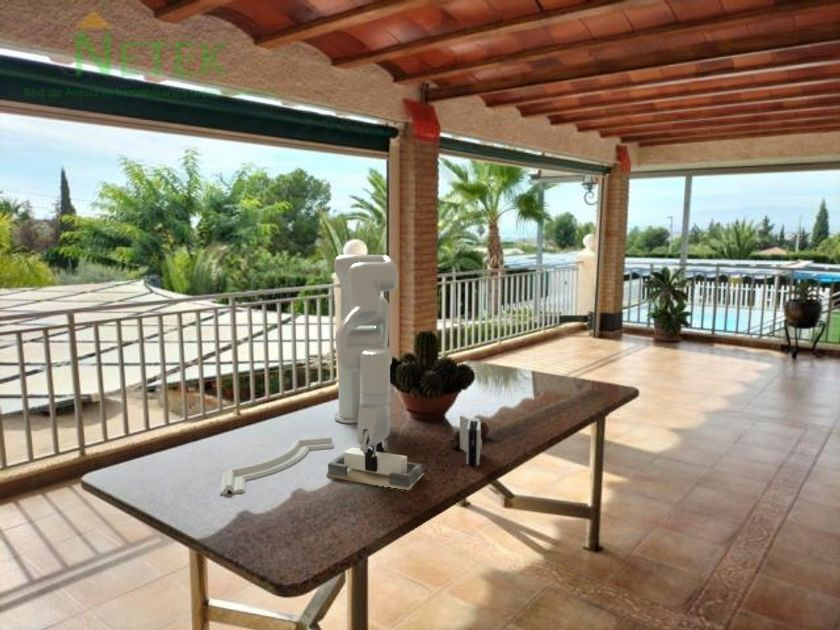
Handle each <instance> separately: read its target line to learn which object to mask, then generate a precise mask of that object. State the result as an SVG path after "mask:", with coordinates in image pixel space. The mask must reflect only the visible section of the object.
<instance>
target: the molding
mask: <svg viewBox="0 0 840 630" xmlns="http://www.w3.org/2000/svg"><path fill="white" fill-rule="evenodd" d="M290 444H291V445H290V448H289V449H288V450H287V451H285V452H283V453H282V454H280V455H278V456H274V457H273V458H270V459H267V460H265V461H261V462H258V463H254V464H251V465H245V466H243V467H242V466H241V467H240V466H239V467H236V468H228V469H227V471H225V472H223V473H222V474H221V485H220V489H219V493H220V496H222V495H223V496H224V495H228V492H229V491H230V493H232V494H242V493H245V490H246V489H245V488H246V487H245V485H246V482H247V481H250V480H256V479H260V478H263V477H266V476H270V475H273V474H276V473H278V472H281V471H283V470H285V469H287V468H290V467H291V466H293V465H296V464H297V463H298V462H300V461H302V460H303V458H304V457H306V456H307V454H308V453H309V452H310V451H319V450H320V451H321V450H329V449H330V450H332V449H334V445H333V444H334V443H333V439H332V436H325V437H315V438H301V439H294V441H293V442H291V443H290Z"/></svg>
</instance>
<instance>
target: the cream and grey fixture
mask: <svg viewBox="0 0 840 630" xmlns="http://www.w3.org/2000/svg"><path fill="white" fill-rule="evenodd" d="M423 465H424V464H422V463H416V462H412V461H407V472H406V473H405V474H403V475H402V474H396V473H390V474H389V475H386V474H380V473H375V472H369V471H363V470H358V469H352V468H347V465H344V452H343V453H342V454H341V455H339V456H338V457H336V458H334V459H333V460H331V461H330V462H328V463H327V473H326V477H329V478H333V479H340V480H345V481H349V482H350V481H351V482H356V483H362V484H367V485H372V486H376V485H377V487H382V486H384V487H383V488H387V487H391V488H390V489H393V488H398V489H406V490H409V489H410V488H411V487H412V486H413V485H414V484H415V483H416V482H417V481H418V480H419V479H420V478H421V477H422V476H423V475H424V476H425V473H423ZM398 489H397V490H398ZM411 489H412V488H411ZM411 489H410V490H411ZM410 490H409V491H410Z"/></svg>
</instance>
